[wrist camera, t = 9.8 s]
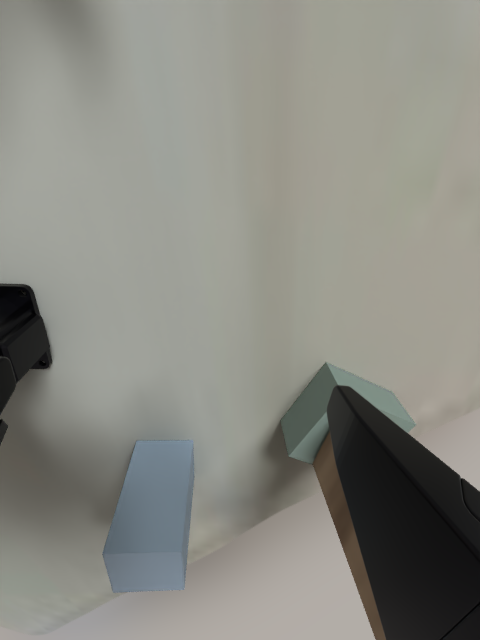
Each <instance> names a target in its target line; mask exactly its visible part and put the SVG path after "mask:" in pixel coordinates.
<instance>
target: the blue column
mask: <svg viewBox="0 0 480 640" xmlns="http://www.w3.org/2000/svg"><path fill="white" fill-rule="evenodd" d="M193 484H194V455H193V440H154V441H136V444H135V448H134V451H133V454H132V458H131V461H130V464H129V467H128V471H127V474H126V477H125V481H124V484H123V487H122V491H121V494H120V497H119V501H118V504H117V507H116V511H115V514H114V517H113V520H112V524H111V527H110V530H109V534H108V537H107V540H106V544H105V547H104V550H103V554H102V555H103V558H104V562H105V565H106V569H107V572H108V576H109V579H110V583H111V587H112V590H113V592H136V591H137V592H138V591H161V590H162V591H163V590H184V588H185V575H186V565H187V553H188V541H189V530H190V518H191V507H192V495H193Z"/></svg>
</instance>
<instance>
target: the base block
mask: <svg viewBox="0 0 480 640" xmlns="http://www.w3.org/2000/svg"><path fill="white" fill-rule="evenodd" d="M336 385H345V386H350V387H351V388H353V389H354V390H355V391H356V392H358V393H359V394H360V395H361V396H362V397H364V398H365V399H366V400H367V401H369V402H370V403H371V404H372V405H374V406H375V407H376V408H377V409H378V410H380V411H381V412H382V413H383V414H385V415H386V416H387V417H388V418H390V419H391V420H392V421H393V422H394V423H396V424H398V426H399V427H401V428H402V429H403V430H404V431H406V432H407V433H408V432H409V431H410V430H411V429H412V428H413V427H414V426H415V425H416V424H415V422H414V421H413V419H412V418H411V417H410V415H409V414H408V413H407V411H406V410H405V409H404V407H403V406H402V405H401V403H400V402H399V400H398V399H397V398H396V396H395V395H394V394H393V392H392V391H389V390H387V389H385V388H383V387H381V386H378V385H376V384H374V383H372V382H369V381H367V380H365V379H363V378H361V377H358V376H356V375H354V374H352V373H349V372H347V371H345V370H343V369H341V368H338V367H336V366H334V365H332V364H329V363H327V362H326V363H325V364H324V365H323V367H322V368H321V369H320V370H319V372H318V373H317V374H316V376H315V377H314V378H313V379H312V381H311V382H310V383H309V385H308V386H307V387H306V388H305V390H304V391H303V392H302V394H301V395H300V396H299V397H298V399H297V400H296V401H295V403H294V404H293V405H292V406H291V408H290V409H289V410H288V412H287V413H286V414H285V415H284V417H283V418H282V419H281V425H282V430H283V434H284V439H285V443H286V448H287V452H288V456H289V457H292V458H294V459H297V460H300V461H303V462H306V463H309V464H312V463H313V462H314V460H315V458H316V456H317V454H318V452H319V450H320V448H321V446H322V444H323V442H324V441H325V439H326V437H327V435H328V433H329V431H330V429H329V424H328V418H327V405H328V402H329V399H330V396H331V393H332V390H333V388H334V386H336ZM312 465H313V464H312Z"/></svg>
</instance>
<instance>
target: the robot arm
mask: <svg viewBox="0 0 480 640" xmlns="http://www.w3.org/2000/svg"><path fill="white" fill-rule="evenodd" d="M21 290H23V291H25V292H26V295H24V294H23V293H22V291H21ZM49 347H50V345H49V341H48V338H47V334H46V330H45V327H44V323H43V319H42V317H41V316H40V314H39V310H38V307H37V303H36V299H35V296H34V292H33V290H32V288H31V287H30V286H28V285H24V284H0V414H1V413H2V411H3V409H4V407H5V406H6V404H7V402H8V400H9V399H10V397H11V395H12V393H13V392H14V390H15V387H16V383H17V382H18V381H19V380H20V379H21V378H22V377H23V376H24V375H25V374H26V373H27V372H28V371H29V369H46V368H48V367H49V366H50V365H51V363H52V358H51V354H50V351H49ZM42 361H45V362H46V363H44V362H42ZM327 418H328V424H329V429H330V435H331V441H332V447H333V453H334V458H335V463H336V467H337V471H338V475H339V478H340V482H341V485H342V489H343V492H344V495H345V499H346V502H347V506H348V509H349V513H350V516H351V520H352V523H353V527H354V530H355V534H356V537H357V541H358V544H359V548H360V551H361V555H362V558H363V562H364V565H365V568H366V572H367V575H368V579H369V582H370V586H371V589H372V593H373V596H374V600H375V603H376V607H377V610H378V614H379V617H380V621H381V624H382V628H383V631H384V635H385V638H386V640H480V491H478V490H477V489H476V488H475V487H473V486H472V485H471V484H470V483H469V482H467V481H466V480H465V479H463V478H460V475H459V474H457V473H456V472H455V471H454V470H452V469H451V468H450V467H449V466H447V465H446V464H445V463H444V462H443V461H441V460H440V459H439V458H438V457H436V456H435V455H434V454H433V453H431V452H430V451H429V450H428V449H426V448H425V447H424V446H423V445H422V444H420V443H419V442H418V441H416V440H415V439H414V438H413V437H412V436H411V435H409V434H408V433H407V432H406V431H404V430H403V429H402V428H401V427H399V426H398V425H397V424H396V423H394V422H393V421H392V420H391V419H390V418H388V417H387V416H386V415H385V414H383V413H382V412H381V411H380V410H378V409H377V408H376V407H375V406H374V405H372V404H371V403H370V402H369V401H367V400H366V399H365V398H364V397H362V396H361V395H360V394H359V393H358V392H356V391H355V390H354V389H353V388H351V387H350V386H345V385H336V386H334V388H333V390H332V393H331V396H330V399H329V402H328V405H327ZM7 428H8V425H7V424H6V423H5V422H4V421H3V420H2V419H0V444H1V442H2V440H3V437H4V435H5V433H6V430H7Z"/></svg>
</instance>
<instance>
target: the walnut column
mask: <svg viewBox="0 0 480 640" xmlns="http://www.w3.org/2000/svg"><path fill="white" fill-rule="evenodd" d="M397 425H398V424H397ZM312 464H313V467H314V469H315V472H316V475H317V478H318V480H319V483H320V486H321V489H322V492H323V494H324V497H325V500H326V503H327V505H328V508H329V511H330V514H331V517H332V519H333V522H334V525H335V528H336V530H337V533H338V536H339V539H340V541H341V544H342V547H343V550H344V553H345V555H346V558H347V561H348V564H349V567H350V569H351V572H352V575H353V577H354V581H355V583H356V586H357V589H358V592H359V594H360V597H361V600H362V603H363V606H364V608H365V611H366V614H367V616H368V619H369V622H370V625H371V628H372V631H373V633H374V636H375V639H376V640H386V638H385V635H384V631H383V628H382V624H381V621H380V617H379V614H378V610H377V607H376V603H375V600H374V596H373V593H372V589H371V586H370V582H369V579H368V575H367V572H366V568H365V565H364V562H363V558H362V555H361V551H360V548H359V544H358V541H357V537H356V534H355V530H354V527H353V523H352V520H351V516H350V513H349V509H348V506H347V502H346V499H345V495H344V492H343V489H342V485H341V482H340V478H339V475H338V471H337V467H336V463H335V458H334V453H333V447H332V441H331V435H330V431H329V433H328V435H327V437H326V439H325V441H324V442H323V444H322V446H321V448H320V450H319V452H318V454H317V456H316V458H315V460H314V462H313V463H312Z"/></svg>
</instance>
